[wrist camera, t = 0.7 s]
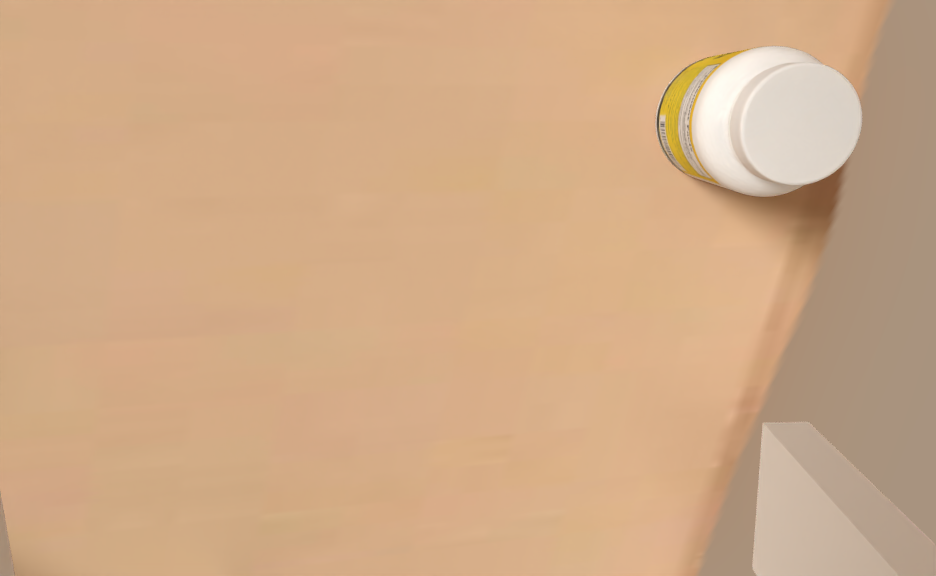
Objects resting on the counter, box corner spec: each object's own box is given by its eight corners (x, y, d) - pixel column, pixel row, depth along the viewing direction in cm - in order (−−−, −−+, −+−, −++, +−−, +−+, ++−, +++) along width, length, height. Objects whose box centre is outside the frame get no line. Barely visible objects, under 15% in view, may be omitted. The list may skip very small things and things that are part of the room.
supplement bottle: (796, 86, 35) (919, 84, 25) (736, 198, 36) (831, 236, 26) (688, 33, 34) (771, 11, 25) (631, 148, 35) (689, 169, 26)
